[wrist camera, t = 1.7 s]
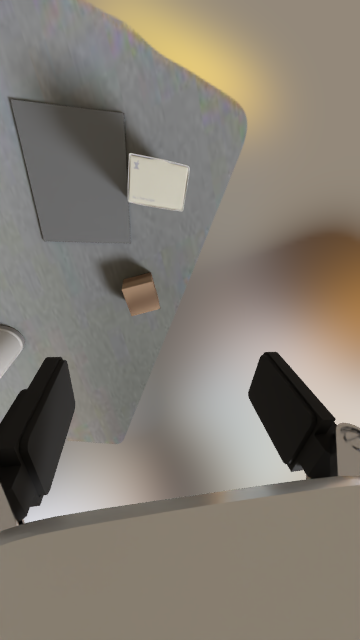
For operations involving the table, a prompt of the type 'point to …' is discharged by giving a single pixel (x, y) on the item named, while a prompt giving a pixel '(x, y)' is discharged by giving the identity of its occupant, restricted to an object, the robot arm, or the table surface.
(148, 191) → the skincare box
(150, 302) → the walnut block
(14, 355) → the travel mug
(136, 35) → the table surface
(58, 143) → the mat
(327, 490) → the robot arm
